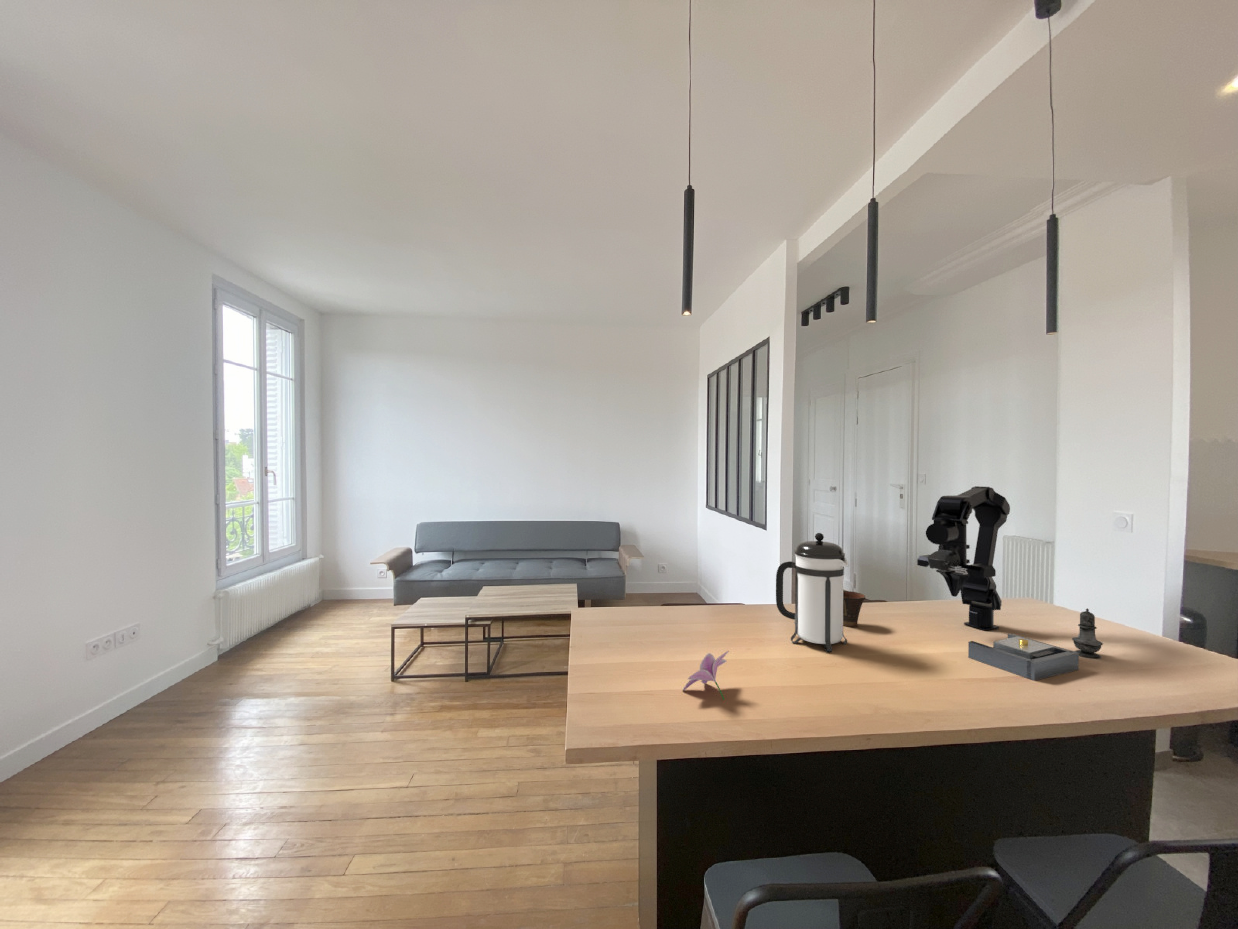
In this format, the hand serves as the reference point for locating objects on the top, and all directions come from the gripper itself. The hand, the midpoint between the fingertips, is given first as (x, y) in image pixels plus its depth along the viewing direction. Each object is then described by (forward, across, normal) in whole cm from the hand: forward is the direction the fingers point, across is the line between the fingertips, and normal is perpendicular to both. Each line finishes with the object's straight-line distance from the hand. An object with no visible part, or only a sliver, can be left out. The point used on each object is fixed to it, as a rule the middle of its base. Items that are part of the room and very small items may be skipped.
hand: (954, 596), depth 143 cm
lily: (+11, +2, -83) cm, 84 cm away
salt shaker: (+12, +22, +19) cm, 31 cm away
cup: (+12, -20, -18) cm, 30 cm away
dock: (+12, +18, -3) cm, 22 cm away
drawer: (+12, +19, -3) cm, 22 cm away
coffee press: (+11, -13, -40) cm, 43 cm away
